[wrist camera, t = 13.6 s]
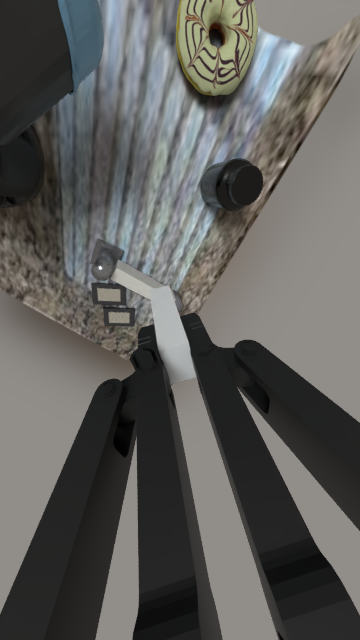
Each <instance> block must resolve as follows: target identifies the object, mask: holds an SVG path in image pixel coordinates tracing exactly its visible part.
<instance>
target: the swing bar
mask: <svg viewBox="0 0 360 640" xmlns="http://www.w3.org/2000/svg"><path fill="white" fill-rule="evenodd" d="M111 280H113V281H115V282H117V283H119V284H121V285H122V286H124V287H126V288H128V289H130V290H132V291H134V292H136V293H138V294H140V295H142V296H144V297H146V298H148V299H150V300H151V297H150V291H149V290H152V289H156V288H160V287H163V286H164V285H162V284H161V283H159V282H157V281H156V280H154V279H152V278H150V277H149V276H147V275H145V274H143V273H142V272H140V271H138V270H136V269H135V268H133V267H131V266H129V265H128V264H126V263H124V262H122V261H121V260H119V259H118V261H117V263H116V265H115V266H114V268H113V271H112V275H111ZM170 290H171V289H170ZM171 293H172V296H173V298H174V301H175V304H176V307H177V310H178V312H180V311H181V310H182V308H183V304H182V302H181V299H180V297H179V294H178V292H177V291H175V290H171Z"/></svg>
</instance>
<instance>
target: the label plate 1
mask: <svg viewBox="0 0 360 640" xmlns="http://www.w3.org/2000/svg"><path fill="white" fill-rule="evenodd" d="M91 285H92V295H93V304H103V305H125V304H126V302H125V287H124V286H122V285H121V284H107V283H92V284H91Z"/></svg>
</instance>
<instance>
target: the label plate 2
mask: <svg viewBox="0 0 360 640" xmlns="http://www.w3.org/2000/svg"><path fill="white" fill-rule="evenodd" d="M103 310H104V324H105V326H134V308H115V307H104V308H103Z"/></svg>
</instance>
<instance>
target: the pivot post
mask: <svg viewBox="0 0 360 640" xmlns="http://www.w3.org/2000/svg"><path fill="white" fill-rule="evenodd" d="M122 253H123V250H122V249H120V248H118V247H115V246H113V245H111V244H109V243H106V242H104V241H102V240H100V239H98V240H97V243H96V246H95V249H94V252H93V256H92V259H91V262H90V263H91V264H93V267H92V274H93V276H94V277H95V278H96V279H98V280H102V281H104V280H107V279H108V278H109V277H110V275H111V272H112V271H113V268H114V266H115V265H116V263H117V261H118V259H119V260H120V258H121V256H122Z"/></svg>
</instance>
